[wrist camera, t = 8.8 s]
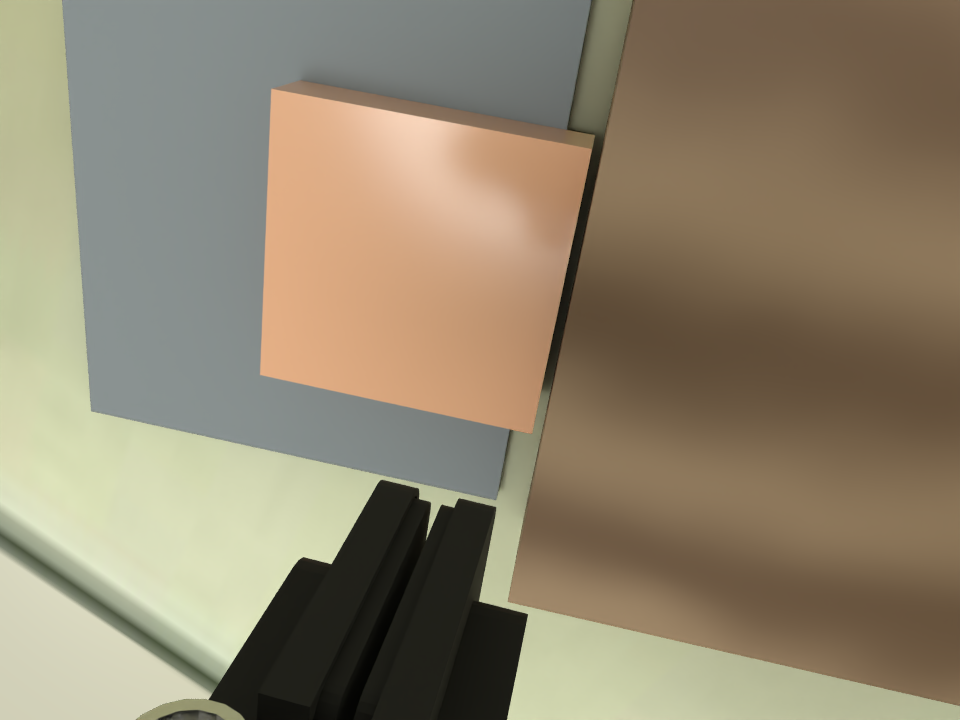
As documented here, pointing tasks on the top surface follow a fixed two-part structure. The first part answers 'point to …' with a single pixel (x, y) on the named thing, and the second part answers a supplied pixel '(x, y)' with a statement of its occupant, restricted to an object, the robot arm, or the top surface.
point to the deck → (767, 346)
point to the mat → (243, 200)
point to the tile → (416, 251)
